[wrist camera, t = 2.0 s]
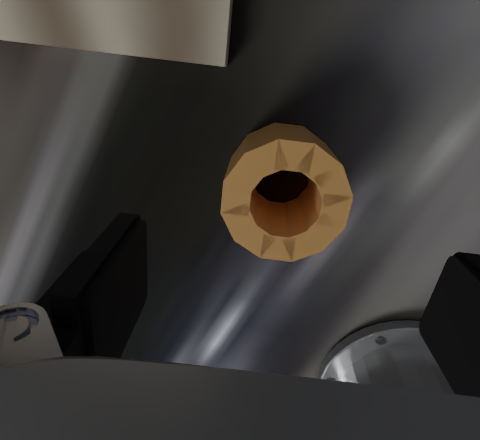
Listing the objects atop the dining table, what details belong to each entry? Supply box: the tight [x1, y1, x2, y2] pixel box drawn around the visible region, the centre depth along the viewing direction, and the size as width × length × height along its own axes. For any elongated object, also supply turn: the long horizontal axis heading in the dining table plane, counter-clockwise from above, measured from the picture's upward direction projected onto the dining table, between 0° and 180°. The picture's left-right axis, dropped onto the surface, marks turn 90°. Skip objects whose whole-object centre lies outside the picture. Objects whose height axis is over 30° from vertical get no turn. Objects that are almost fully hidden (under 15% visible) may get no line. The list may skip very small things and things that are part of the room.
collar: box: [221, 123, 353, 262], centre depth 20 cm, size 6×6×5 cm
